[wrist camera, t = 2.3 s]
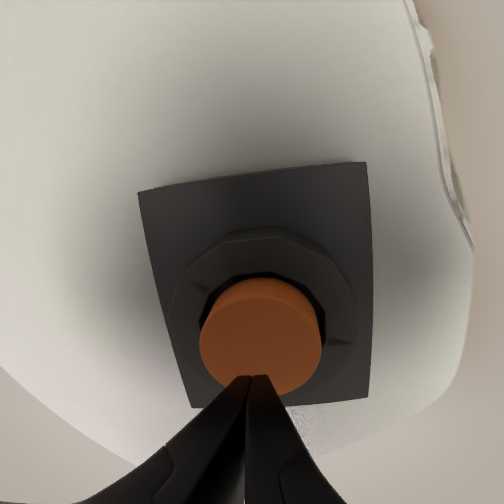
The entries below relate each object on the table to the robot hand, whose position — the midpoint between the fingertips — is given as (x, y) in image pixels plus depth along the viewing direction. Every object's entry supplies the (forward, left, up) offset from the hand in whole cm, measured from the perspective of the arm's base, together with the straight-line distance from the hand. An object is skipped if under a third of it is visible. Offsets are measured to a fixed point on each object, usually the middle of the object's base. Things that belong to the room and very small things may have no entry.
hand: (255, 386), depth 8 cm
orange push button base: (0, 0, -7) cm, 7 cm away
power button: (0, 0, -3) cm, 3 cm away
